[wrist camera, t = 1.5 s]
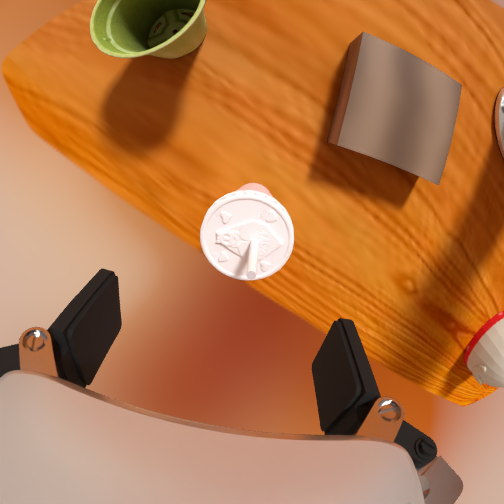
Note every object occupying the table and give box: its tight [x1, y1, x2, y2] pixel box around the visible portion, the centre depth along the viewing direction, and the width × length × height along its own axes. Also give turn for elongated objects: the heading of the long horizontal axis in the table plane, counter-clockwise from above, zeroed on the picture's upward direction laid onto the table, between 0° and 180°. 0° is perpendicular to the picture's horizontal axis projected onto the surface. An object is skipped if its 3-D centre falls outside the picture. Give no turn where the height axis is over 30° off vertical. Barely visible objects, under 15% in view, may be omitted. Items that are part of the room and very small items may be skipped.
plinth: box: [327, 32, 462, 185], centre depth 20 cm, size 11×11×4 cm
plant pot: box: [90, 0, 207, 59], centre depth 15 cm, size 9×9×9 cm
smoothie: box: [200, 183, 294, 280], centre depth 21 cm, size 6×6×14 cm
